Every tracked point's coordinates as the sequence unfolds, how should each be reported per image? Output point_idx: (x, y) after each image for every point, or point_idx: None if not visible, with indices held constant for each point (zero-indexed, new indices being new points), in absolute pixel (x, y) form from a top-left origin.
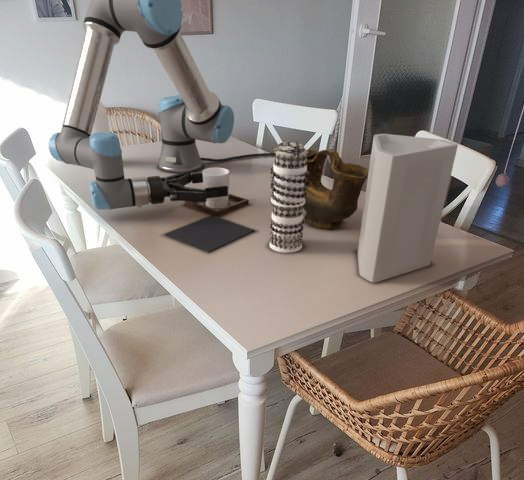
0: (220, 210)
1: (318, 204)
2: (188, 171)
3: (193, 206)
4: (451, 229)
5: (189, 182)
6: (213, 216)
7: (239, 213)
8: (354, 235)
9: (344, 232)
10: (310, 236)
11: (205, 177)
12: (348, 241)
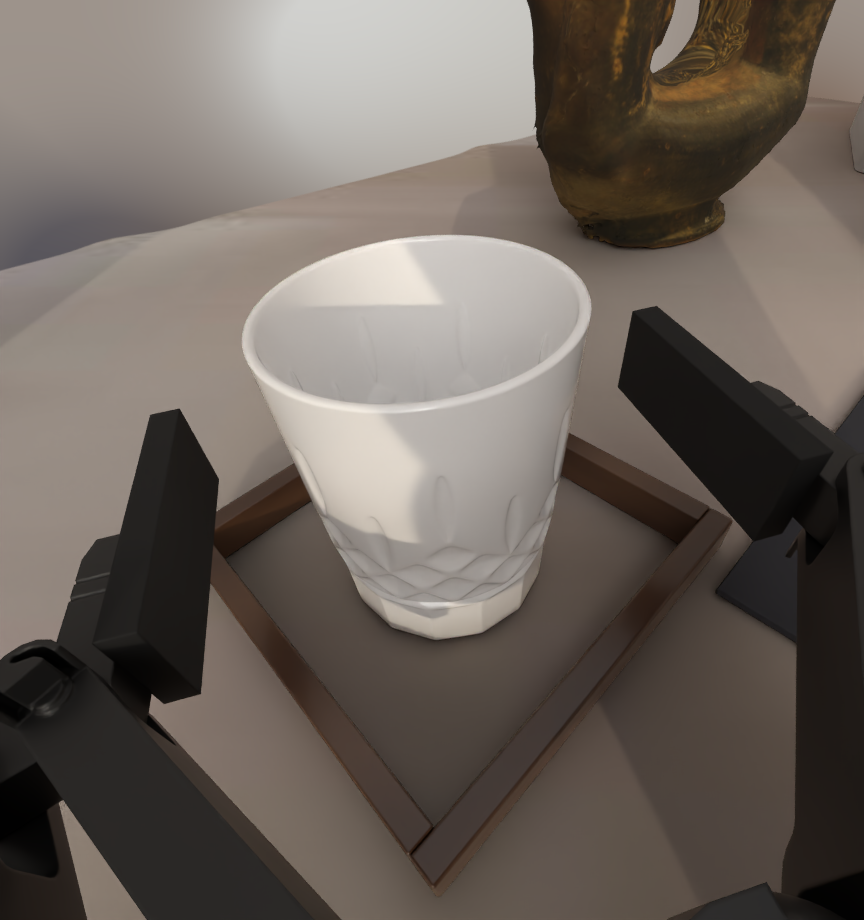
0: (698, 501)
1: (761, 116)
2: (13, 685)
3: (545, 762)
4: None
5: (174, 740)
6: (742, 574)
7: (603, 432)
8: (745, 183)
9: (728, 195)
10: (819, 241)
11: (534, 412)
12: (809, 189)
